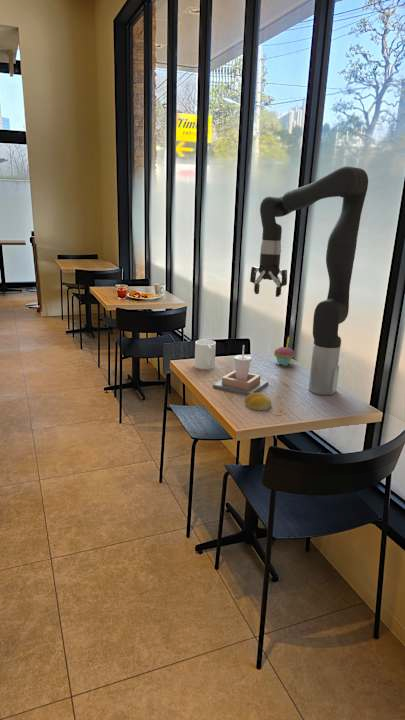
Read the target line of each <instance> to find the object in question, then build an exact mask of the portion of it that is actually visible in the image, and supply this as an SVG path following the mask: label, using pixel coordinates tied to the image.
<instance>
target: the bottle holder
mask: <svg viewBox="0 0 405 720" xmlns="http://www.w3.org/2000/svg"><path fill="white" fill-rule="evenodd" d="M261 377H262V376H261V375H260V374H256V373H253V372H252V373H251V372H248V377H247V382H246V381H241V380H237V379H236V372H235V369H234V370H233V371H230V372H229V373H227V374H225V375H224V376H222V377H221V379H220V380H218V381H216V382H215V383H213V385H212V388H214V389H218V390H222V391H226V392H230V393H234V394H238V395H243V396H246V397H247V396H248V395H249V394H251V393H259V391H261V390H263V389H265V387H266V386H268V385H269V381H268V380H265V379H261Z"/></svg>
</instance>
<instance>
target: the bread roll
mask: <svg viewBox="0 0 405 720" xmlns="http://www.w3.org/2000/svg"><path fill="white" fill-rule="evenodd" d="M271 400H272V399H270V398H269V397H267V396H266V395H265V394H263V393H262V392H261V393H260V392H257V393H251V394H249V395H248V396H246V397H245V398H244V403H245V404H246V406H247V407H248V408H250V409H251V410H254V411H267V410H269V409H270V408H271V407H272V401H271Z"/></svg>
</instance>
